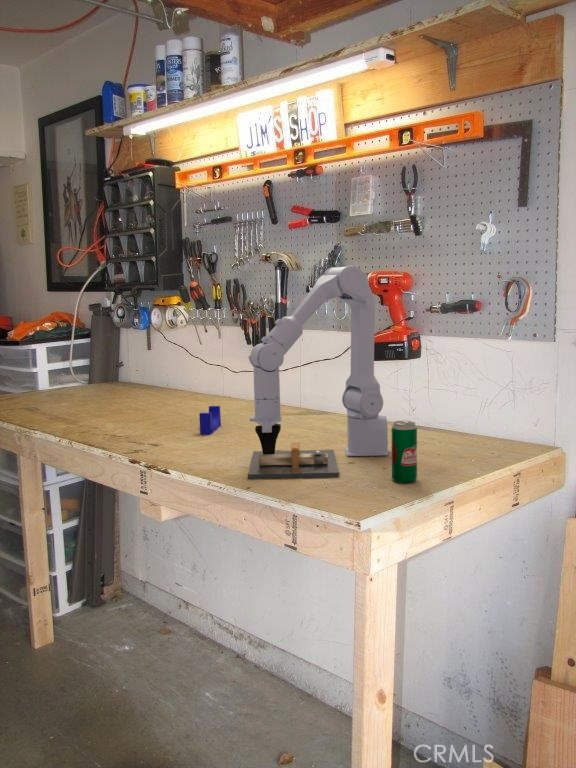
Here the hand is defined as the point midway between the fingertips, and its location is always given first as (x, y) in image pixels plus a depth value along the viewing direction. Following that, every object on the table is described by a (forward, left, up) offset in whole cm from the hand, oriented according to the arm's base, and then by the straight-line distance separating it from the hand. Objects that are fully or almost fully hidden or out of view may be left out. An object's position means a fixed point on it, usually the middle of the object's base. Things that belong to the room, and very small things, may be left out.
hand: (269, 457), depth 153 cm
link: (-5, +4, 0) cm, 7 cm away
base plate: (-5, +1, -2) cm, 6 cm away
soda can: (-28, +15, -2) cm, 32 cm away
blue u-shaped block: (+19, -40, -2) cm, 44 cm away
